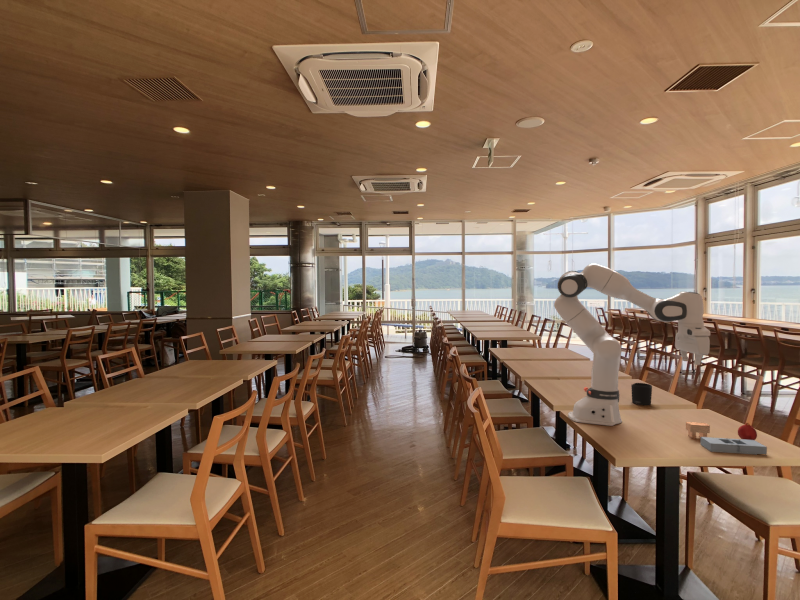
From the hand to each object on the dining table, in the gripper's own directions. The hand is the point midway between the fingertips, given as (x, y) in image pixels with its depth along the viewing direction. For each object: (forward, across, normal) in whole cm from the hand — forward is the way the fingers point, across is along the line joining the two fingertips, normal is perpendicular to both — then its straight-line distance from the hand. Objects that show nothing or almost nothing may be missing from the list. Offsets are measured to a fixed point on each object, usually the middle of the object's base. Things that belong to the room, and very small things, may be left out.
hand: (691, 362), depth 172 cm
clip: (+29, +7, -1) cm, 30 cm away
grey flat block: (+29, +19, +5) cm, 35 cm away
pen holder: (+29, -45, -2) cm, 54 cm away
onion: (+30, +10, +15) cm, 35 cm away
